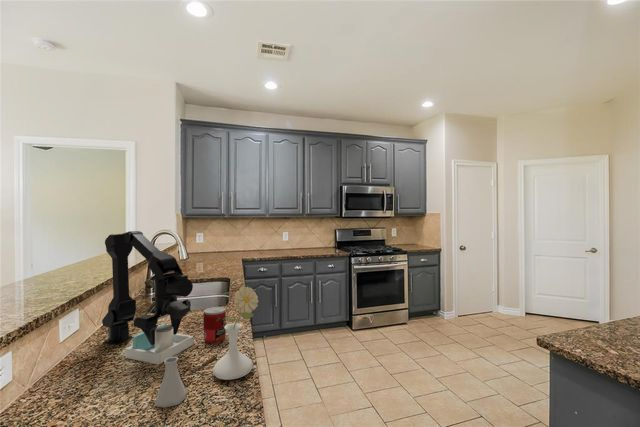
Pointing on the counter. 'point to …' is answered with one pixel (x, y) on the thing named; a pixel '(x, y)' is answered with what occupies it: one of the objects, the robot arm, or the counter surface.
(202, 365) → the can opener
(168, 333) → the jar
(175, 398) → the flask
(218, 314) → the canned food
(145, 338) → the pusher
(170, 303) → the robot arm
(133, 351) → the lane
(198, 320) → the counter surface
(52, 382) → the counter surface
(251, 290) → the flower in vase
